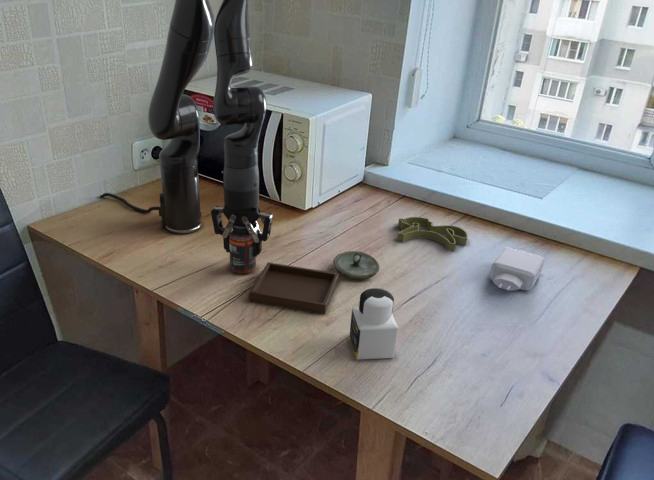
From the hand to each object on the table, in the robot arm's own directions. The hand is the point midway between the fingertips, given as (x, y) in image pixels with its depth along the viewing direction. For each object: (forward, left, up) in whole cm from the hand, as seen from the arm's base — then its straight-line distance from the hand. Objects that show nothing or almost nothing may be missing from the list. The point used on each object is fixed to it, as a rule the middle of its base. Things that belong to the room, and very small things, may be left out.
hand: (242, 252), depth 139 cm
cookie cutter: (+40, +30, -4) cm, 50 cm away
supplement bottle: (0, 0, -4) cm, 4 cm away
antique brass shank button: (+25, +7, -4) cm, 26 cm away
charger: (+59, +12, -4) cm, 60 cm away
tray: (+14, -6, -4) cm, 16 cm away
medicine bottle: (+33, -21, -4) cm, 39 cm away
